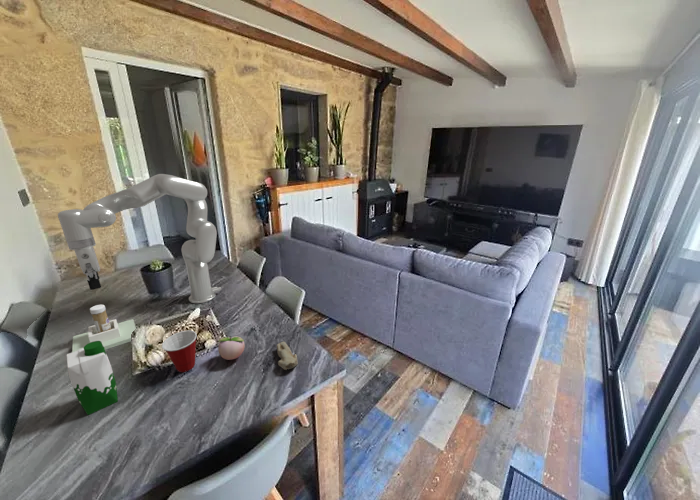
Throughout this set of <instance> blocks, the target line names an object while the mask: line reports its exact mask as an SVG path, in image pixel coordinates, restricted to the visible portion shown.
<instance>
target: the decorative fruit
mask: <svg viewBox="0 0 700 500" xmlns="http://www.w3.org/2000/svg"><path fill="white" fill-rule="evenodd" d="M217 342H219V344H218V348H217V349H218V350H217V351H218V353H219V356H220V357H221V358H222V359H224V360H229V361H231V360H235V359H237V358H238V359H239V357H240V356H241V355H242V354H243V353H244V351H245V345H246V344H245V340H244V338H243V337H240V336H237V335H235V336H232V337H231V335H229V336H228V337H226V336H225V337H224V336H223V337H222V338H220V339H219V340H217Z"/></svg>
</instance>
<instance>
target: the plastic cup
mask: <svg viewBox="0 0 700 500" xmlns="http://www.w3.org/2000/svg"><path fill="white" fill-rule="evenodd" d="M196 341H197V332H196V331H194V330H190V329H189V330H182V331H179V332H175V333H174V334H171V335H170V336H168V337H166V339H164V341H163V342H162V344H161V349H163V350H164V351H165V352H166V353H167V354H168V356H169V358H170V360H171V362H172V364H173V365H174V367H175V369H176V371H177V372H179V373H185V372H189V371H190V370H192V369H193V368H195V365H196V348H197V347H196V345H197V342H196Z"/></svg>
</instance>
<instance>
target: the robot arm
mask: <svg viewBox="0 0 700 500" xmlns="http://www.w3.org/2000/svg"><path fill="white" fill-rule="evenodd" d="M165 195H168V196H172V197H176V198H179V199H183V200H184V201H185V203H186V205H187V218H186V228H185V229H186V230H185V232H186V233H187V235H189V236H190V237H192V238H195V239H189V240H186V241H184V243H183V244H182V246H181V255H182V258H183V260H184V263H185V267H186V274H187V278H188V283H189V284H188V285H189V289H190V296H189V297H188V301H189V302H190V303H192V304H204V303H207V302H209V301H212V300H213V299H214V298H215V297H216V292H220V291H222V287H221V286H219V287H218V286H214V287H213V286H211V285H212V284H211V279H210V278H211V277H210V272H209V265H208V263H209V262H211V261H212V259H214V256H215V252H216V244H217V238H218V237H217V235H218V233H217V232H218V231H217V227H216V225H214V224H213V223H212V222H211V221H208V204H207V201H206V198H207V196H208V189H207V188H206V186H205V185H204V184H203V183H200V182H199V181H198V182H197V181H194V180H190V179H186V178H183V177H179V176H176V175H172V174H167V173H166V174H165V173H158V174H155V175H153V176H150V177H148V178H147V179H145V180H142V181H140V182H139V183H137V184H136V183H135V184H134V185H132V186H130V187H127V188H125V189H121V190H120V191H117V192H115V193H111V194H108V195H106V196H104V197H102V198H99V199H97V200H95V201H93V202H91V203H89V204H87V205H86V206H85V207H84V208H83V209H79V208H73V209H65V210H62V211H59V212H58V213H57V217H58V220H59V223H60V226H61V229H62V232H63V235H64V238H65V241H66V244H67V247H68V249H69V250H71V251H74V254H75V256H76V259H77V262H78V265H79V267H80V269H81V272H82V273H83V275H85V276H86V279H87V283H88V287H89V290H91V291H93V290H96V289H101V288H102V285H101V282H100V276H99V273H100V271H101V267H100V264H99V261H98V257H97V254H96V251H95V249H94V247H95V246H96V245H97V244H96V241H95V237H94V234H93V231H92V228H106V227H110V226H112V225H114V223H115V222H116V221H117V215H116V214H118V213H120V212H122V211H123V212H124V211H126V210H130V209H131V210H132V209H138V208H141V207H145V206H147V205H149V204H151V203H152V202H154V201H157V200H158V199H160V198H162V197H163V196H165Z"/></svg>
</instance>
